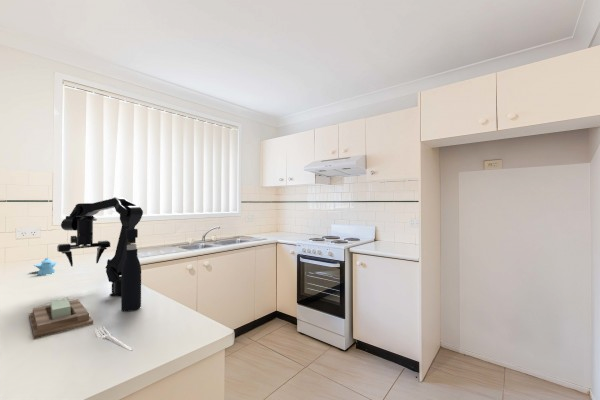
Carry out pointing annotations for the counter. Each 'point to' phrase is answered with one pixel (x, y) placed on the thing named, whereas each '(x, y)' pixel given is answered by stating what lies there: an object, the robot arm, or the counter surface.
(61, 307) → the peg
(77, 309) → the socket board
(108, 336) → the fork
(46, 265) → the blue spiky figurine
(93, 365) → the counter surface
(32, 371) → the counter surface
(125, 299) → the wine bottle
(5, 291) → the counter surface
